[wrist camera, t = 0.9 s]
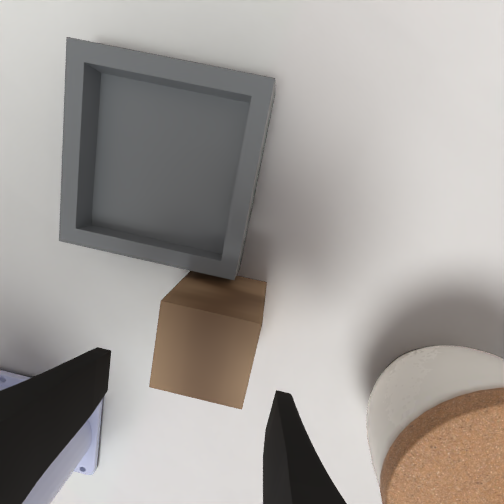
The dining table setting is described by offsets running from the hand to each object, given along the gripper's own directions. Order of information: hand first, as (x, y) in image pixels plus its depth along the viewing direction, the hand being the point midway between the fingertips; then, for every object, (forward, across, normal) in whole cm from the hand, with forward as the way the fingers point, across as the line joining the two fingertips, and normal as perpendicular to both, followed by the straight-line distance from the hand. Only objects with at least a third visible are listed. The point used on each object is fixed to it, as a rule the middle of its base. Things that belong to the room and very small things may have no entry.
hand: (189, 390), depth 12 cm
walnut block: (+8, 0, 0) cm, 8 cm away
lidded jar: (+9, -15, +3) cm, 17 cm away
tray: (+8, +5, -8) cm, 13 cm away
